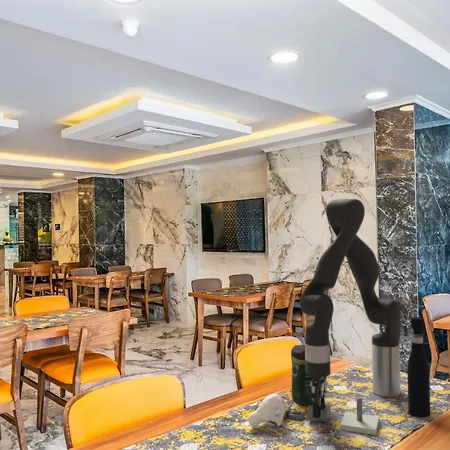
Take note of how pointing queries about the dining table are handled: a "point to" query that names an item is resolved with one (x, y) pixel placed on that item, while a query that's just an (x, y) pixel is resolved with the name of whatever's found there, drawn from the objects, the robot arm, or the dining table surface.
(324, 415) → the link
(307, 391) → the coffee jar
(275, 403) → the white lumpy piece
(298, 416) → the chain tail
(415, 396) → the black water bottle
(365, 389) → the dining table surface
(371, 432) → the peg stand
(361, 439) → the dining table surface
